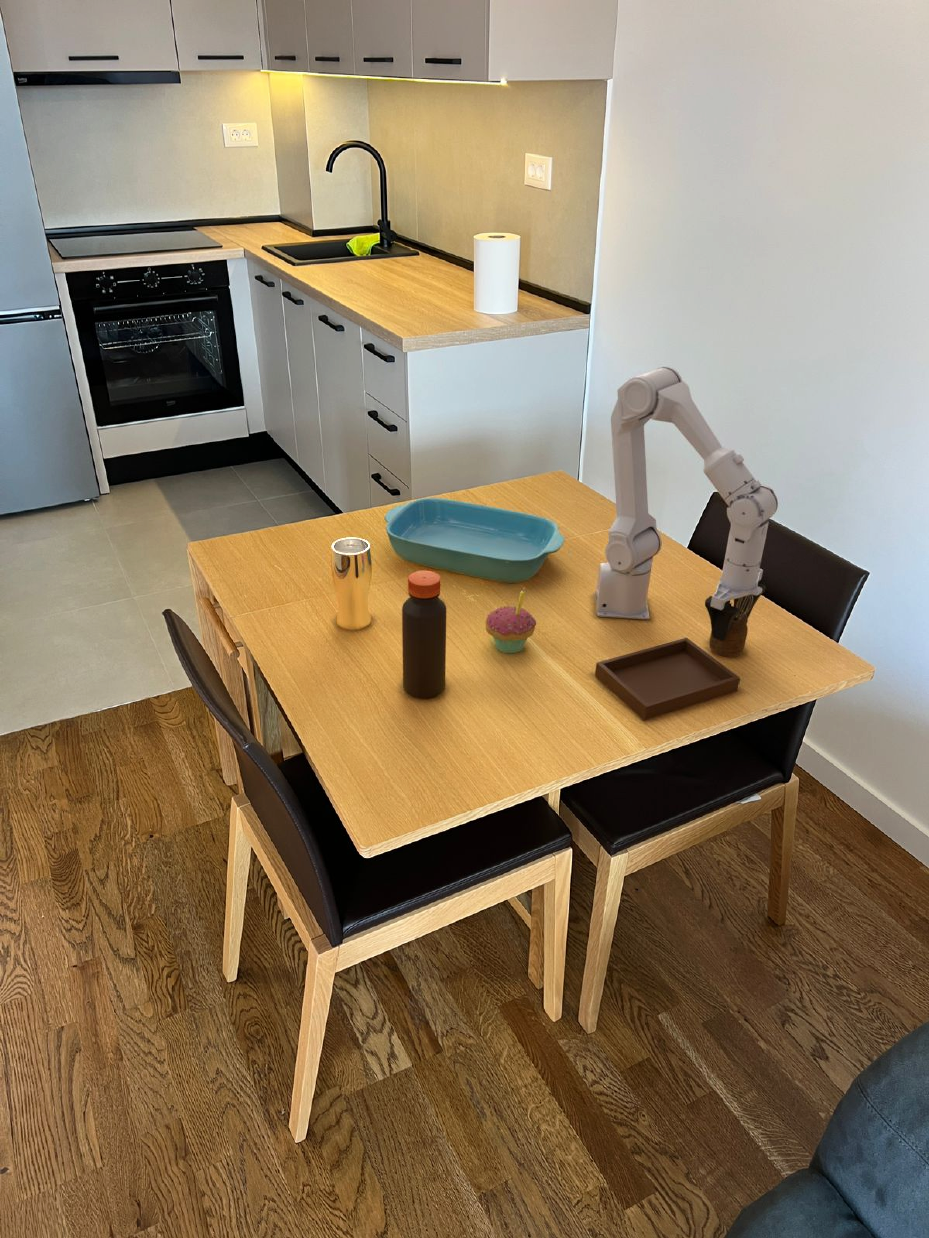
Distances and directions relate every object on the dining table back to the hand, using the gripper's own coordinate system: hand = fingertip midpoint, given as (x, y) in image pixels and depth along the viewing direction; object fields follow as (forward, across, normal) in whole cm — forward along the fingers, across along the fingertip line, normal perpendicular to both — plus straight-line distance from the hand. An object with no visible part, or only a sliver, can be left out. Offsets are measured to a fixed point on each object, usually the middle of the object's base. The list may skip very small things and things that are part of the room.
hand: (729, 629), depth 161 cm
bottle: (+4, -44, +30) cm, 54 cm away
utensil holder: (+4, 0, 0) cm, 4 cm away
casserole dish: (+4, -4, +55) cm, 55 cm away
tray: (+4, -16, +2) cm, 17 cm away
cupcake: (+4, -25, +28) cm, 38 cm away
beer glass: (+4, -38, +54) cm, 66 cm away
